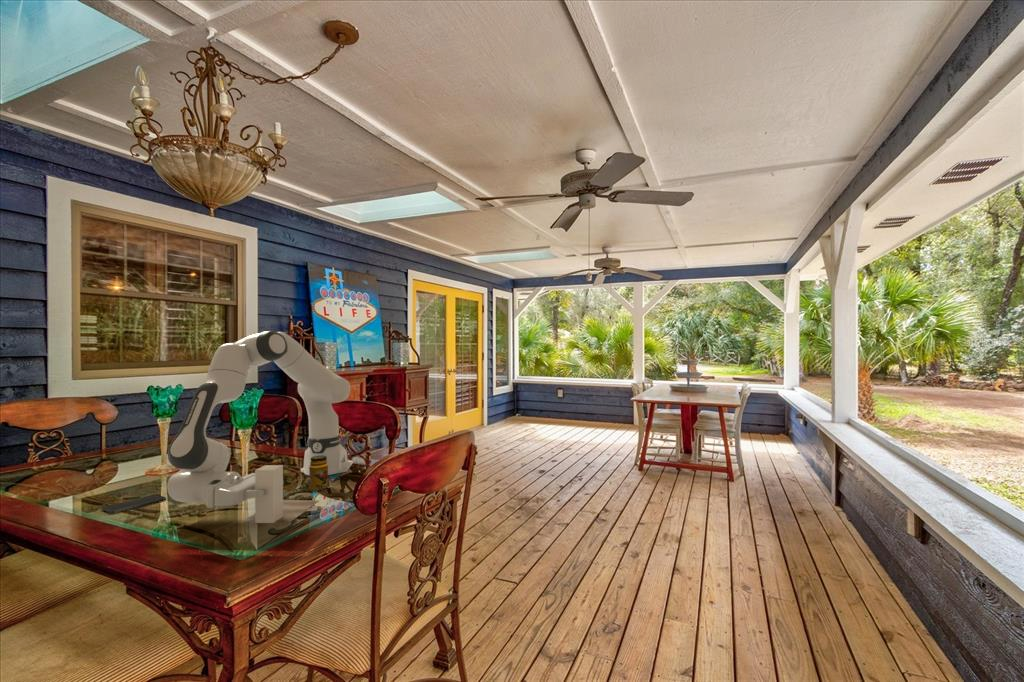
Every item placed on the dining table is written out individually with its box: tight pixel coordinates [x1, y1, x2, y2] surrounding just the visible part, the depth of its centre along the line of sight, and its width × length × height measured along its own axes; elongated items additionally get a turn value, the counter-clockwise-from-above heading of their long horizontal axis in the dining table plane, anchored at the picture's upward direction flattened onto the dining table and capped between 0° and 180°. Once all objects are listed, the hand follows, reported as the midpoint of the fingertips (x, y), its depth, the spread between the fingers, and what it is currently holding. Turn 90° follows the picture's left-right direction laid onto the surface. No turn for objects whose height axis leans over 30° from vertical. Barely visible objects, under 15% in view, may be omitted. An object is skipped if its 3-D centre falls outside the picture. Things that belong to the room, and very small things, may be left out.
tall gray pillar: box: [254, 464, 284, 524], centre depth 135 cm, size 5×5×15 cm
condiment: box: [308, 455, 329, 492], centre depth 165 cm, size 7×8×12 cm
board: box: [243, 499, 319, 523], centre depth 143 cm, size 18×14×1 cm
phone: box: [101, 494, 167, 514], centre depth 151 cm, size 8×1×15 cm
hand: (273, 487), depth 136 cm, fingers open, 8 cm apart
